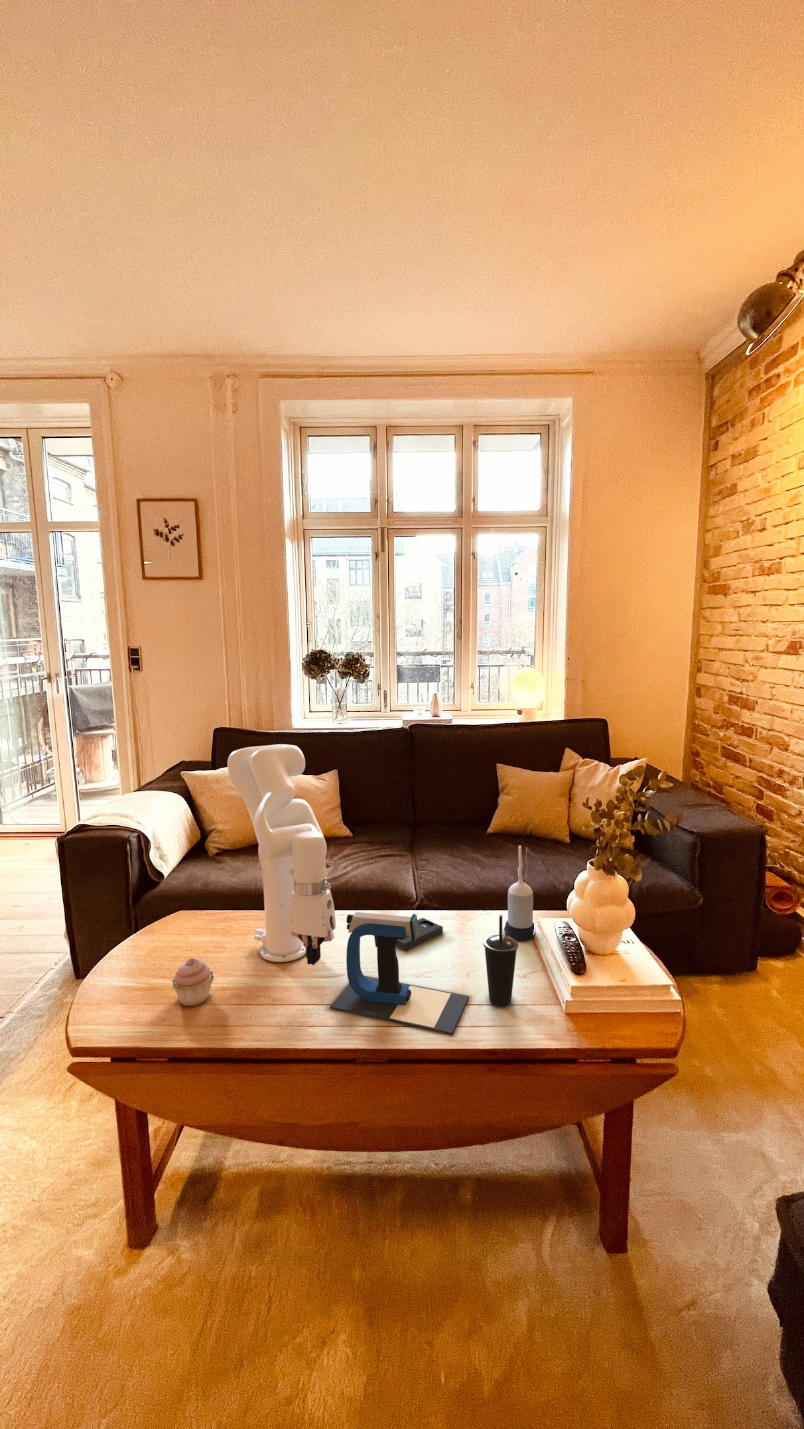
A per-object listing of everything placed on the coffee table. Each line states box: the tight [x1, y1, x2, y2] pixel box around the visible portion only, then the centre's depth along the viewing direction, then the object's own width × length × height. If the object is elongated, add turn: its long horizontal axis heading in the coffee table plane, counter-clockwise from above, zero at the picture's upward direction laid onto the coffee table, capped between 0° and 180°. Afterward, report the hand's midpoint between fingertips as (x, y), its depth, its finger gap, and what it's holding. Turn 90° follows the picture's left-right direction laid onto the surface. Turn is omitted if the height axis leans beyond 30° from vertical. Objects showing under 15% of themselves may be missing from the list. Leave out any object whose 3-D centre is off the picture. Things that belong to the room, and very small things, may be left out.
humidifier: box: [503, 845, 535, 942], centre depth 164 cm, size 8×8×25 cm
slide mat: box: [329, 975, 470, 1035], centre depth 135 cm, size 28×14×1 cm, turn 70°
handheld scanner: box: [346, 911, 419, 1005], centre depth 135 cm, size 5×16×20 cm, turn 78°
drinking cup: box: [482, 914, 519, 1008], centre depth 134 cm, size 8×8×20 cm
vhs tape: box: [396, 917, 444, 952], centre depth 165 cm, size 14×8×2 cm, turn 132°
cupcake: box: [171, 957, 215, 1007], centre depth 137 cm, size 9×9×10 cm
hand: (313, 961), depth 141 cm, fingers closed
